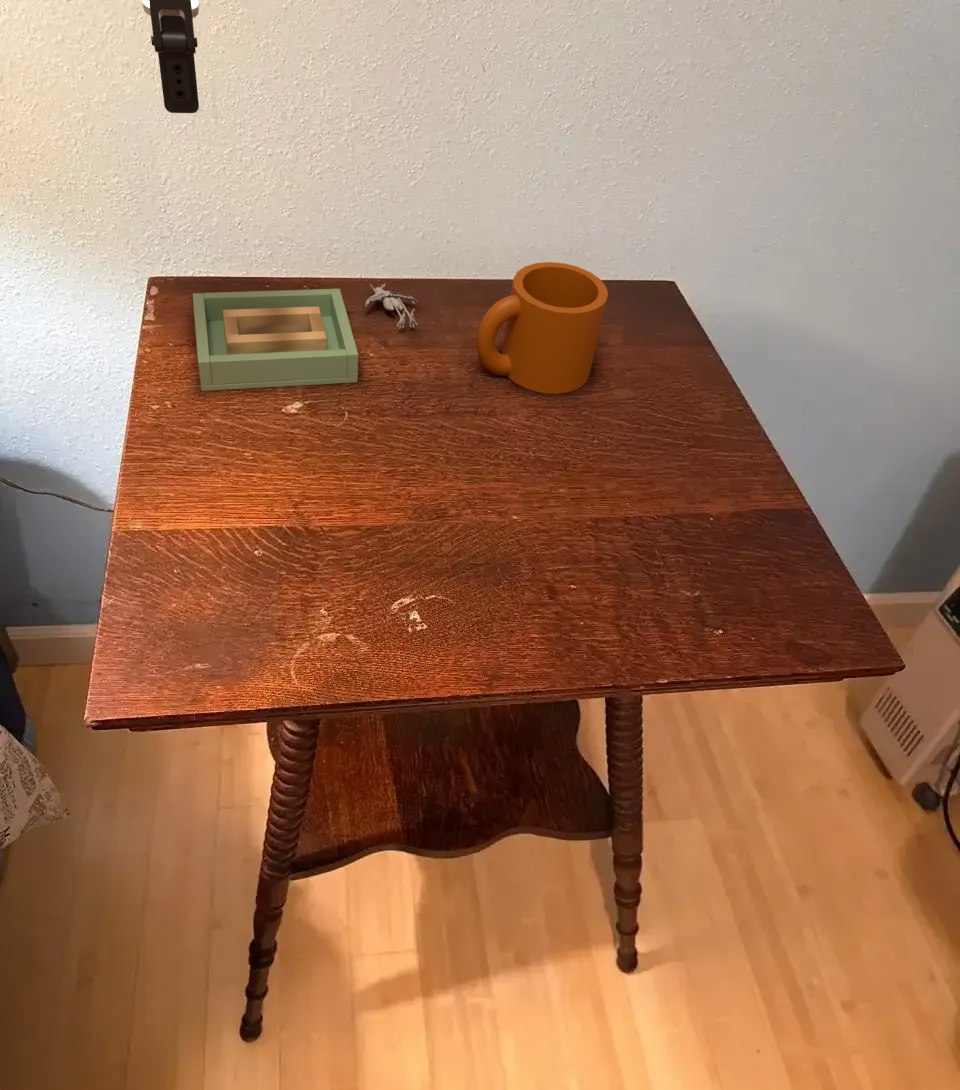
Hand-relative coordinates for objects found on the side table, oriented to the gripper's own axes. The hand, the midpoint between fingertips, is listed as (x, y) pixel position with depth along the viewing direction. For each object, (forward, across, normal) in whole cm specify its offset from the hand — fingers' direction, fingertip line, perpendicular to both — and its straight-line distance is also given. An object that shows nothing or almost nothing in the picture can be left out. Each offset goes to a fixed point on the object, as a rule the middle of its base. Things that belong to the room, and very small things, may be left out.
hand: (180, 86), depth 66 cm
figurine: (+27, -11, +20) cm, 35 cm away
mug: (+26, -1, +30) cm, 40 cm away
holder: (+26, -6, +6) cm, 27 cm away
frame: (+26, -6, +6) cm, 27 cm away
